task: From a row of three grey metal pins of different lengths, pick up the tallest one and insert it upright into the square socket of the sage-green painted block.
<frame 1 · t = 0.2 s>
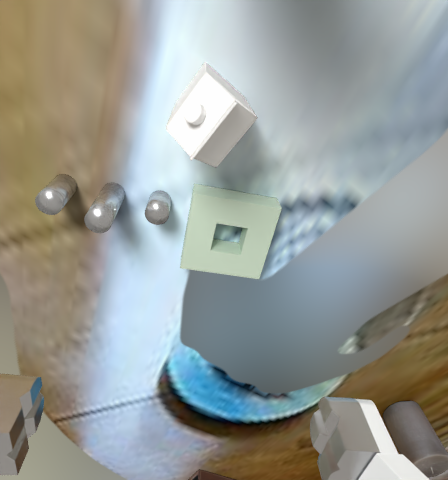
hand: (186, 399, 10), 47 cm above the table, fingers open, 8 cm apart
pillar candle: (401, 410, 92), on the table
short pin: (160, 200, 58), on the table
tall pin: (113, 193, 57), on the table
medium pin: (65, 184, 56), on the table
socket block: (227, 227, 62), on the table
milk carton: (209, 99, 51), on the table
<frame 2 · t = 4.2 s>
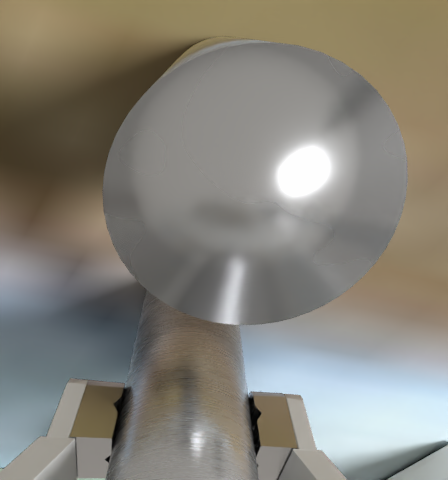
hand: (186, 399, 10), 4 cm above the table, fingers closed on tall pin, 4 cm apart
tall pin: (190, 305, 14), on the table, touching gripper
medium pin: (224, 107, 10), on the table
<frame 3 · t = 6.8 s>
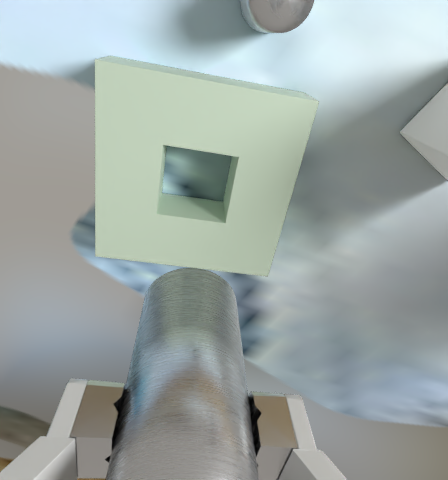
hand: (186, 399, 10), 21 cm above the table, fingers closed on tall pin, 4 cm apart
short pin: (267, 1, 23), on the table
tall pin: (190, 305, 14), point 17 cm above the table, touching gripper
socket block: (197, 168, 29), on the table
when the fingers open (6 cm above the table, at t = 9.6 s): tall pin drops 1 cm, resting in socket block.
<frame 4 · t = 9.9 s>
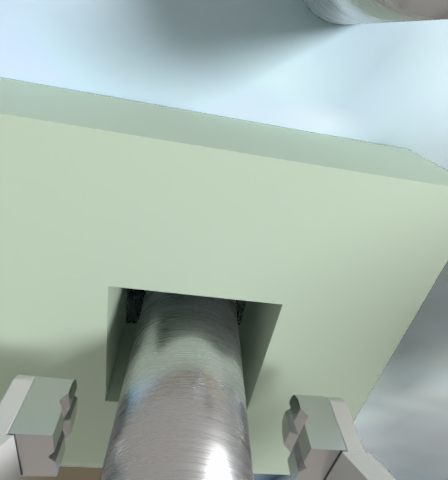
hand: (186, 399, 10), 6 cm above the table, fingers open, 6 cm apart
tall pin: (191, 283, 15), resting in socket block
socket block: (190, 283, 15), on the table
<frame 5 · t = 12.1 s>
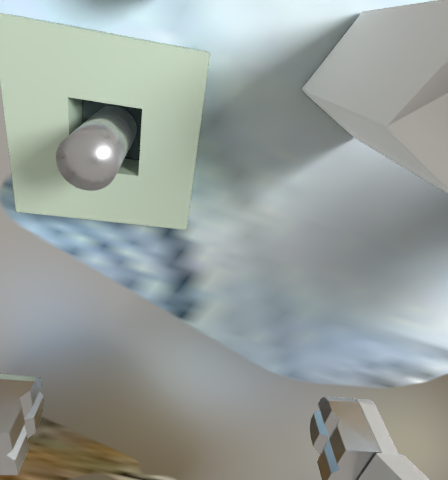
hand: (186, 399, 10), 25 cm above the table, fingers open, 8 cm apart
tall pin: (115, 127, 30), resting in socket block
socket block: (114, 127, 30), on the table
milk carton: (356, 79, 30), on the table
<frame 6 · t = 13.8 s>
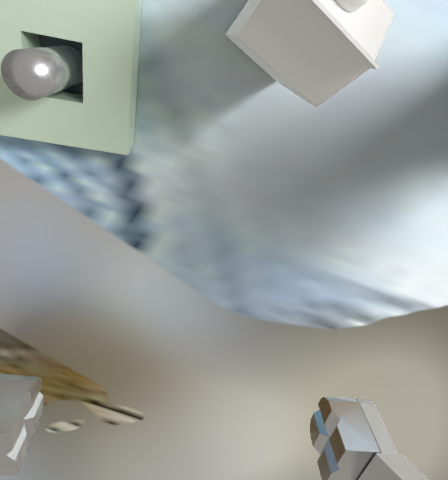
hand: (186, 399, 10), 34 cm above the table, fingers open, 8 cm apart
tall pin: (68, 65, 36), resting in socket block
socket block: (67, 65, 36), on the table
milk carton: (274, 27, 35), on the table
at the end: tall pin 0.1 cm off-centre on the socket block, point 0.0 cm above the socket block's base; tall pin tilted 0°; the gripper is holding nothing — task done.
